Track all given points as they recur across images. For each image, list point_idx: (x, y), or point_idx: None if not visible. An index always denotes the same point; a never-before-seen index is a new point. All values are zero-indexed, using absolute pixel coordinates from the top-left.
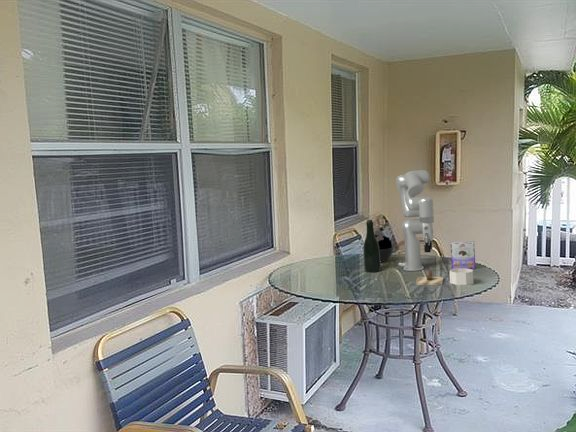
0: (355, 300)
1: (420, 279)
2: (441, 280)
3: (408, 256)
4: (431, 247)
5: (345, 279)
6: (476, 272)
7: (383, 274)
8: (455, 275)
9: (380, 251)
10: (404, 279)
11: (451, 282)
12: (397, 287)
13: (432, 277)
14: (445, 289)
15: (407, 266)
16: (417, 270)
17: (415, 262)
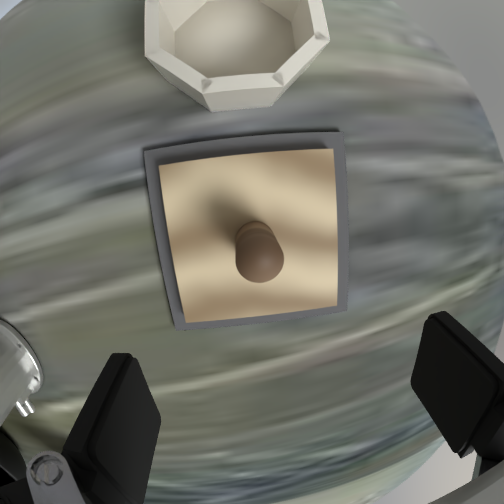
0: None
1: (253, 297)
2: (267, 158)
3: (5, 410)
4: (126, 375)
5: (239, 498)
6: (3, 61)
7: None
8: (319, 51)
9: (7, 467)
10: (193, 375)
11: (281, 94)
12: (358, 362)
13: (254, 224)
14: (393, 126)
15: (27, 385)
16: (24, 340)
17: (4, 366)
